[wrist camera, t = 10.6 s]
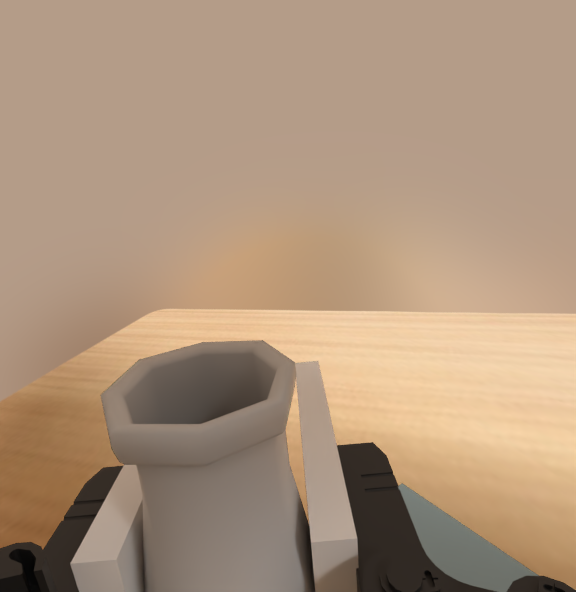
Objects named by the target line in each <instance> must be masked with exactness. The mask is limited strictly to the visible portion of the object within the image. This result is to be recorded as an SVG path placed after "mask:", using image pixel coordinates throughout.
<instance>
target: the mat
mask: <svg viewBox="0 0 576 592" xmlns="http://www.w3.org/2000/svg"><path fill="white" fill-rule="evenodd" d="M398 488H399V490H400V492H401V494H402V497H403V499H404V502H405V504H406V507H407V509H408V512H409V514H410V517H411V520H412V522H413V525H414V527H415V530H416V532H417V535H418V537H419V540H420V542H421V545H422V547H423V549H424V551H425V553H426V554H427V556H428V557H429V558H430V560H431V561H432V562H433V563H434V564H435V565H436V566H437V567H438V568H439V569H440V570H442V571H443V572H444V573H445V574H447V575H449V576H450V577H452V578H454V579H456V580H458V581H460V582H463V583H466V584H469V585H472V586H476V587H480V588H484V589H488V590H493V591H497V592H507V590H508V589H509V587H510V585H511V584H512V582H513V581H515V580H517V579H519V578H522V577H524V576H538V575H537V574H536V573H534V572H533V571H531V570H530V569H528V568H527V567H525V566H524V565H522V564H521V563H519V562H518V561H516V560H515V559H513V558H512V557H510V556H509V555H507V554H506V553H504V552H503V551H501V550H500V549H498V548H497V547H496V546H494V545H493V544H491V543H490V542H488V541H487V540H485V539H484V538H482V537H481V536H479V535H478V534H476V533H475V532H473V531H472V530H470V529H469V528H467V527H466V526H464V525H463V524H461V523H460V522H458V521H457V520H456V519H454V518H453V517H451V516H450V515H448V514H447V513H445V512H444V511H442V510H441V509H439V508H438V507H436V506H435V505H433V504H432V503H430V502H429V501H427V500H426V499H424V498H423V497H421V496H420V495H418V494H417V493H416V492H414V491H413V490H411V489H410V488H408V487H407V486H405V485H404V484H401V485H399V486H398Z"/></svg>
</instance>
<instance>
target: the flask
mask: <svg viewBox="0 0 576 592" xmlns="http://www.w3.org/2000/svg"><path fill="white" fill-rule="evenodd" d="M295 381H296V367H295V362H294V361H292V360H291V359H289V358H288V357H286V356H285V355H283V354H282V353H280V352H279V351H278V350H276V349H275V348H273V347H272V346H270V345H269V344H267V343H266V342H264V341H263V340H262V341H228V342H202V343H198V344H195V345H191V346H187V347H184V348H180V349H176V350H173V351H169V352H165V353H162V354H158V355H155V356H151V357H147V358H144V359H140V360H138V361H137V362H136V363H135V364H134V365H133V366H132V367H131V368H129V369H128V370H127V371H126V372H125V373H124V374H123V375H122V376H121V377H120V378H119V379H117V380H116V381H115V382H114V383H113V384H112V385H111V386H110V387H109V388H108V389H107V390H105V391H104V392H103V393H102V394H101V399H102V405H103V410H104V415H105V419H106V424H107V429H108V434H109V438H110V443H111V448H112V450H113V452H114V454H115V455H116V457H117V459H118V460H119V462H121V463H123V464H125V465H136V466H137V471H138V476H139V481H140V485H141V490H142V495H143V568H144V592H315V582H314V571H313V560H312V549H311V538H310V527H309V524H308V521H307V518H306V514H305V511H304V508H303V505H302V502H301V499H300V495H299V492H298V489H297V486H296V483H295V480H294V477H293V473H292V470H291V467H290V464H289V456H288V447H287V439H286V431H285V429H286V424H287V420H288V415H289V410H290V406H291V401H292V396H293V392H294V387H295Z"/></svg>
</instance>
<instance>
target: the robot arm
mask: <svg viewBox="0 0 576 592" xmlns="http://www.w3.org/2000/svg"><path fill="white" fill-rule="evenodd" d="M295 367H296V381H297V393H298V404H299V415H300V426H301V438H302V449H303V460H304V471H305V482H306V494H307V505H308V516H309V527H310V538H311V549H312V560H313V571H314V582H315V592H497V591H493V590H488V589H484V588H480V587H476V586H472V585H469V584H466V583H463V582H460V581H458V580H456V579H454V578H452V577H450V576H449V575H447V574H445V573H444V572H443V571H442V570H440V569H439V568H438V567H437V566H436V565H435V564H434V563H433V562H432V561H431V560H430V558H429V557H428V556H427V554H426V553H425V551H424V549H423V547H422V545H421V542H420V540H419V537H418V535H417V532H416V530H415V527H414V525H413V522H412V520H411V517H410V514H409V512H408V509H407V507H406V504H405V502H404V499H403V497H402V494H401V492H400V490H399V488H398V484H397V481H396V479H395V476H394V475H393V471H392V469H391V466H390V464H389V461H388V458H387V456H386V455H385V454H384V453H383V452H382V451H381V450H380V449H379V448H378V447H377V446H376V445H375V444H374V443H373V442H372V443H361V444H349V445H338V446H337V444H336V440H335V435H334V430H333V426H332V421H331V417H330V412H329V408H328V403H327V399H326V394H325V390H324V385H323V381H322V376H321V372H320V367H319V363H318V361H313V362H302V363H295ZM0 592H144V568H143V495H142V490H141V485H140V481H139V476H138V471H137V466H136V465H125V464H124V466H117V467H106V468H102V469H101V470H100V471H99V472H98V473H97V474H96V475H95V476H93V477H92V478H91V479H90V480H89V481H88V482H87V483H86V484H85V485H84V487H83V488H82V490H81V491H80V493H79V494H78V496H77V498H76V499H75V501H74V505H71V507H70V509H69V510H68V512H67V513H66V515H65V516H64V521H61V523H60V524H59V526H58V527H57V529H56V530H55V532H54V534H53V535H52V537H51V538H50V540H49V541H48V543H47V545H46V546H45V548H44V549H43V550H42V548H41V546H38V545H36V544H34V543H32V542H27V543H15V544H12V545H9V546H6V547H3V548H0ZM507 592H576V590H574V589H573V588H571V587H570V586H568V585H566V584H565V583H563V582H560V581H557V580H554V579H551V578H548V577H545V576H524V577H522V578H519V579H517V580H515V581H513V582H512V584H511V585H510V587H509V589H508V590H507Z"/></svg>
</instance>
